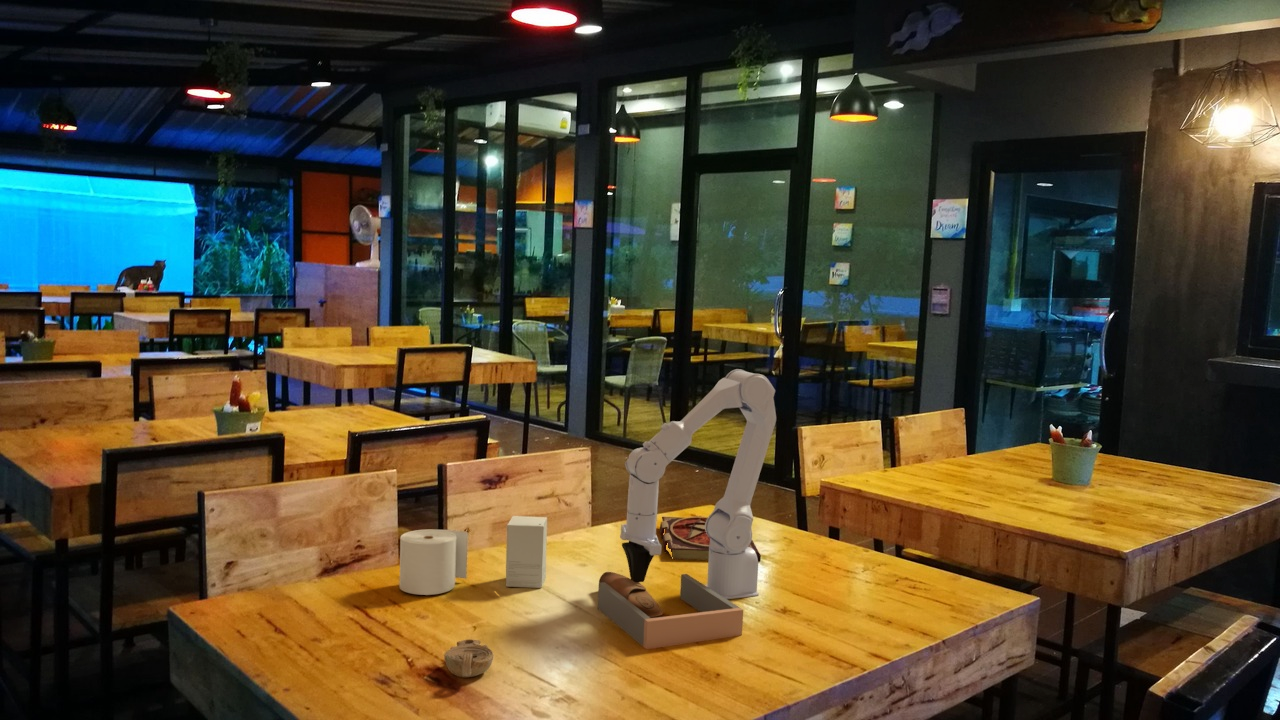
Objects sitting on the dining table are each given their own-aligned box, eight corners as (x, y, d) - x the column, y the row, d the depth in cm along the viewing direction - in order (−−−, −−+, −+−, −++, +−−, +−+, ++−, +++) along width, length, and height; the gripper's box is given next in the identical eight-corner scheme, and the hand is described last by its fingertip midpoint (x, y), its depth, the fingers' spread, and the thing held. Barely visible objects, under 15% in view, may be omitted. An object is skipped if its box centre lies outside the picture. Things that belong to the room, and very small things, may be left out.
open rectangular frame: (685, 599, 187) (686, 573, 187) (741, 637, 168) (743, 609, 168) (597, 609, 180) (598, 582, 179) (646, 650, 161) (647, 621, 160)
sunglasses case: (667, 613, 175) (649, 584, 174) (635, 636, 174) (616, 607, 172) (639, 583, 192) (622, 556, 191) (610, 604, 191) (592, 577, 190)
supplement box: (546, 577, 197) (548, 516, 196) (541, 589, 190) (544, 525, 189) (510, 575, 197) (512, 514, 196) (504, 587, 190) (506, 524, 189)
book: (760, 566, 213) (761, 544, 213) (664, 563, 212) (665, 540, 212) (742, 532, 241) (743, 512, 241) (658, 529, 241) (659, 509, 240)
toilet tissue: (387, 590, 185) (388, 538, 184) (424, 573, 196) (425, 524, 196) (434, 599, 181) (436, 546, 180) (469, 581, 192) (470, 532, 192)
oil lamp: (448, 655, 155) (449, 625, 155) (495, 656, 156) (496, 626, 156) (438, 690, 142) (439, 657, 142) (489, 691, 143) (490, 658, 142)
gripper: (608, 503, 189) (604, 571, 190) (638, 522, 176) (634, 595, 177) (641, 501, 192) (637, 568, 193) (673, 520, 179) (668, 592, 180)
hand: (637, 581), depth 185 cm, fingers closed, pressing on sunglasses case
